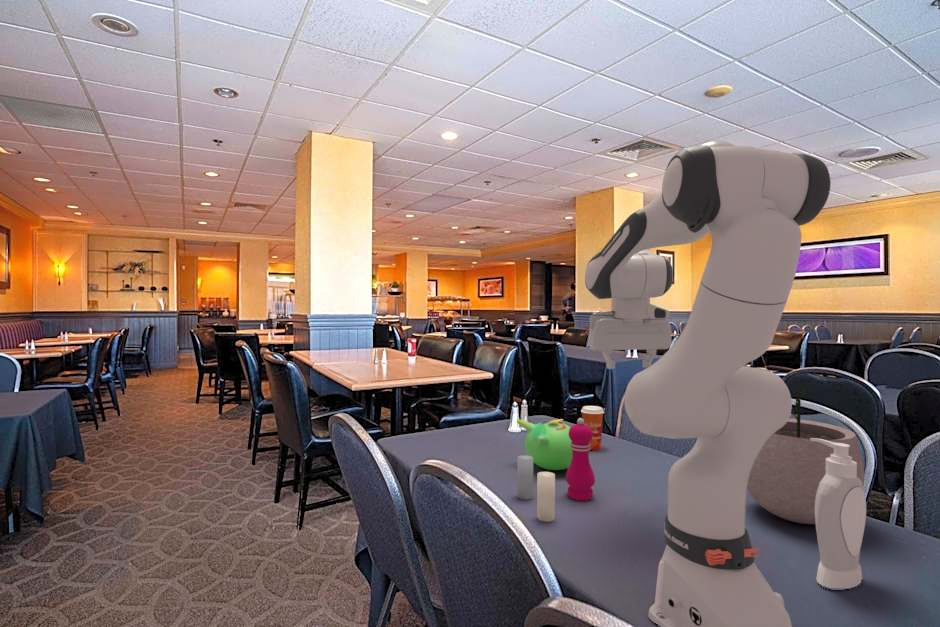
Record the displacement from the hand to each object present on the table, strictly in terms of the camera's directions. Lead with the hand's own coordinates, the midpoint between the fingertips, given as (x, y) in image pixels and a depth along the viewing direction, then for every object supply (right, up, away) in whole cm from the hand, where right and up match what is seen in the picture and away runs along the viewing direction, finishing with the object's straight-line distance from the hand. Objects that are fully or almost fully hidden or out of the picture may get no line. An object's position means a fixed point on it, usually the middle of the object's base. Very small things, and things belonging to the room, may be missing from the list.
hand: (628, 368), depth 119 cm
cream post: (-21, -34, -6) cm, 40 cm away
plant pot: (+37, -34, -6) cm, 50 cm away
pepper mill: (-10, -34, +7) cm, 36 cm away
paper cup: (+3, -33, +49) cm, 59 cm away
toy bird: (-14, -33, +29) cm, 46 cm away
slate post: (-24, -33, +6) cm, 42 cm away
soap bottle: (+26, -34, -31) cm, 53 cm away
